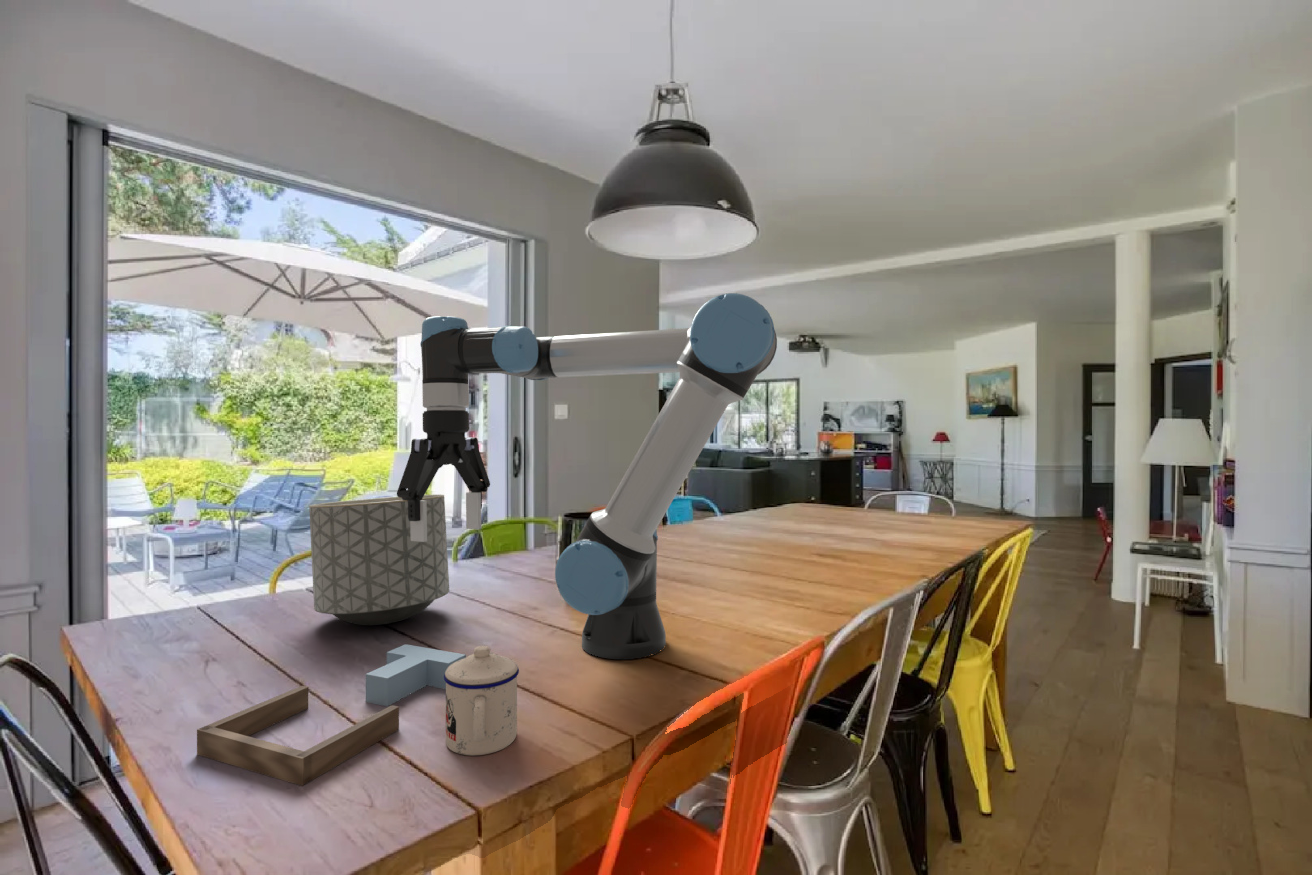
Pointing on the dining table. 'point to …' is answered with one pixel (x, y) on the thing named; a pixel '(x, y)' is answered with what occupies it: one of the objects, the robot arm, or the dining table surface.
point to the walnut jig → (282, 762)
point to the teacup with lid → (481, 703)
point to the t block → (408, 673)
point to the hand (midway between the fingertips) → (447, 534)
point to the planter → (376, 559)
